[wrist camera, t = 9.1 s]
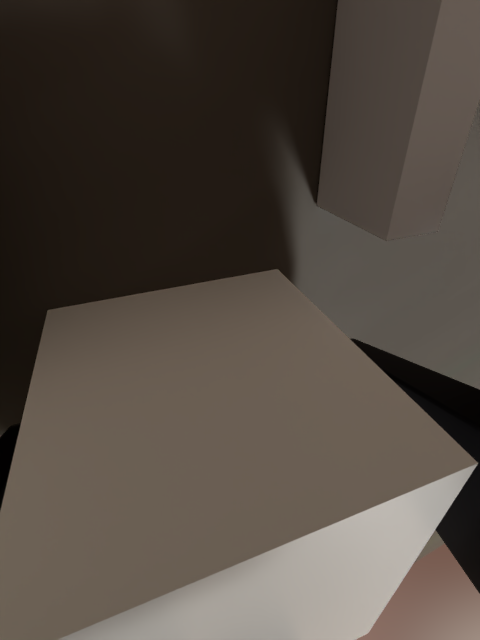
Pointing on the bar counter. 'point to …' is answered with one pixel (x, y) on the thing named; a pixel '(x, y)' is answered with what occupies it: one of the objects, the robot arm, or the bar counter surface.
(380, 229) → the dock
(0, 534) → the cream knobbed cube
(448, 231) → the bar counter surface
